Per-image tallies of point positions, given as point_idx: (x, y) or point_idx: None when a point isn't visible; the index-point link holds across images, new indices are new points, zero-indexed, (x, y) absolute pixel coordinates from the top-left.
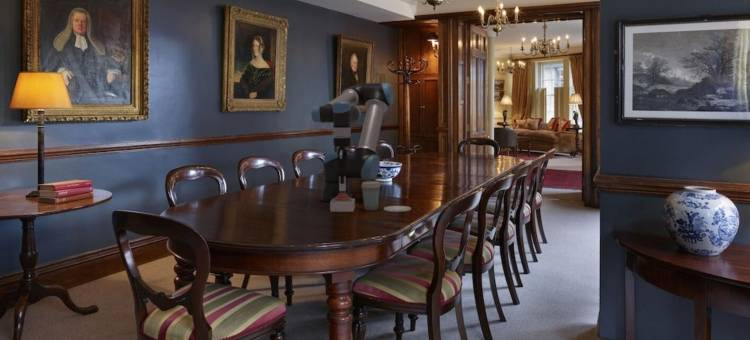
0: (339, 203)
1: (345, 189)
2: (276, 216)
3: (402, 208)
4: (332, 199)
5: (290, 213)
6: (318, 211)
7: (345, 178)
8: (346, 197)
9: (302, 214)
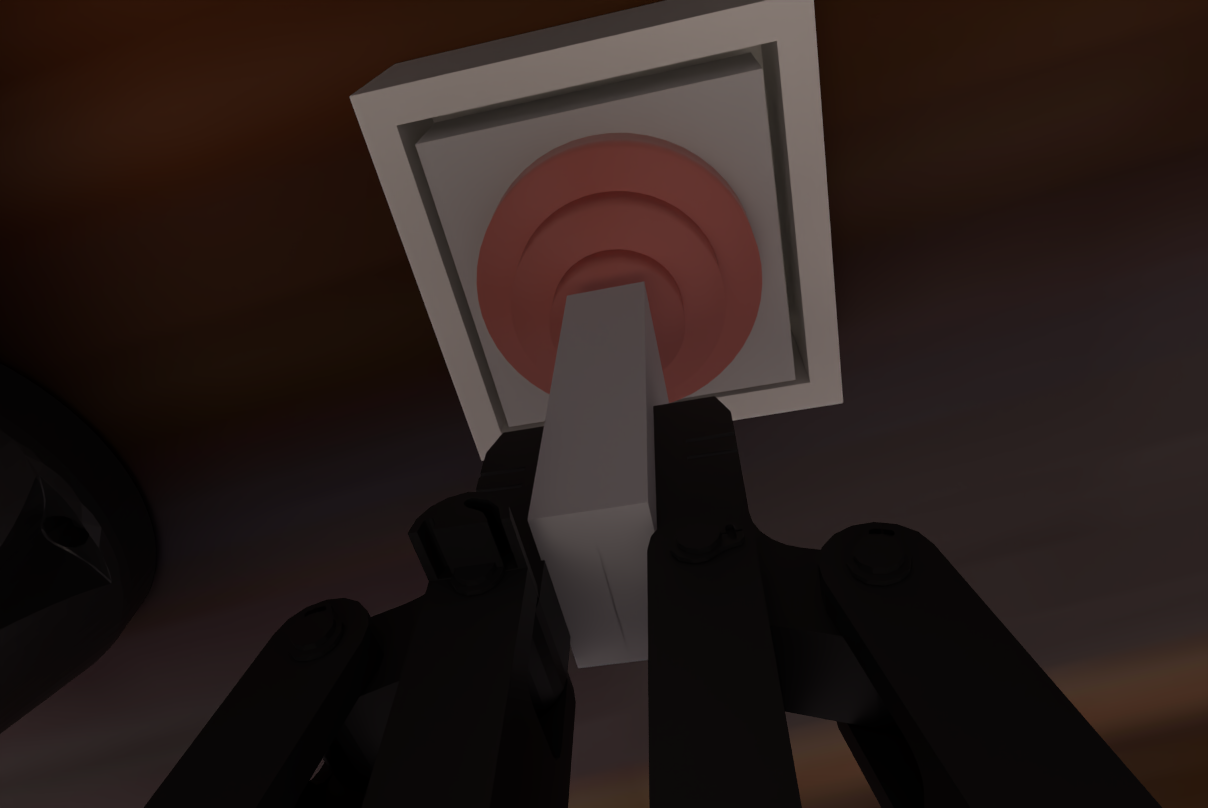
0: (828, 254)
1: (639, 297)
2: (1113, 728)
3: None
4: None
5: None
6: (813, 469)
7: (597, 460)
8: (666, 203)
9: (1014, 567)
